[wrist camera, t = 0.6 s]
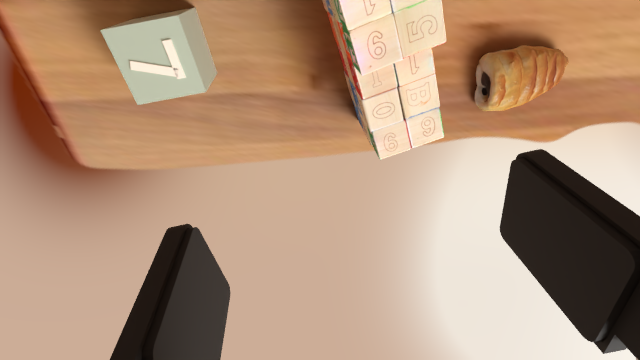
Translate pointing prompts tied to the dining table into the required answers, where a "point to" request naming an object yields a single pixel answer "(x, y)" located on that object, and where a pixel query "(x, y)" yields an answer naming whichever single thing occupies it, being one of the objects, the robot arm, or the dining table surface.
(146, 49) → the block seven
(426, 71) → the stack of blocks
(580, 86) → the dining table surface
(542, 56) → the pastry
